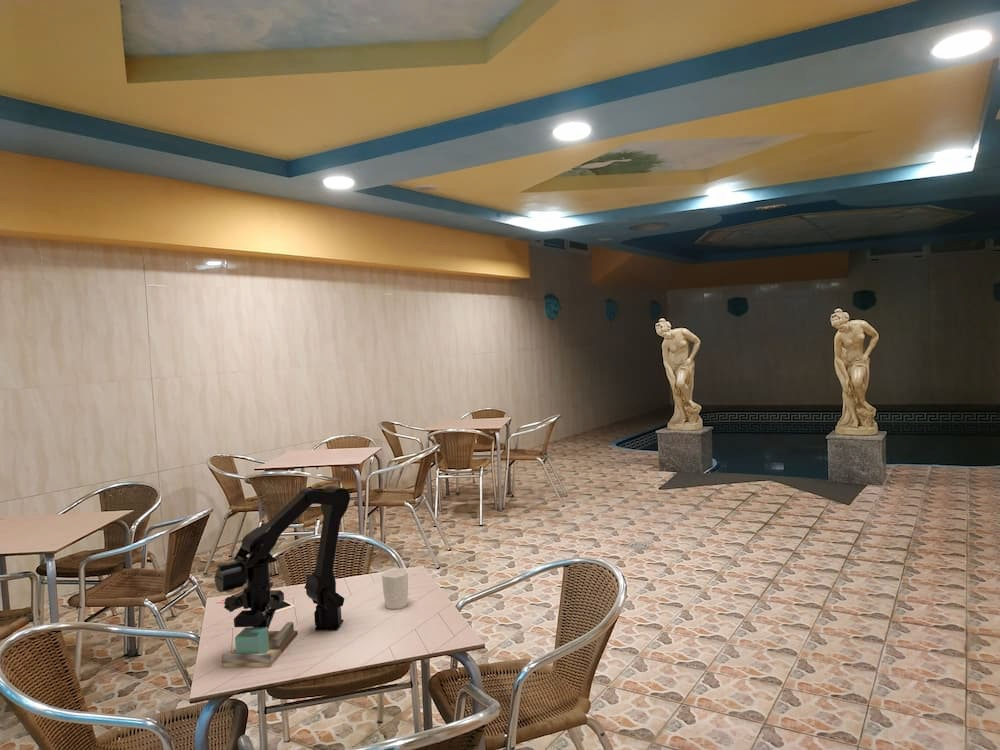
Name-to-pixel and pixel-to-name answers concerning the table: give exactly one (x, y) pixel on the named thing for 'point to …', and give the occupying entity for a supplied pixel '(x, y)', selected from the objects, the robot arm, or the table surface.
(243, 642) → the block
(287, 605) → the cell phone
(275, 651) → the chute
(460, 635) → the table surface
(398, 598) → the white cup
